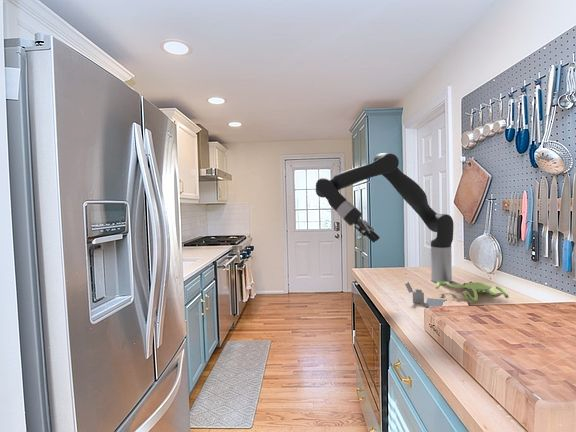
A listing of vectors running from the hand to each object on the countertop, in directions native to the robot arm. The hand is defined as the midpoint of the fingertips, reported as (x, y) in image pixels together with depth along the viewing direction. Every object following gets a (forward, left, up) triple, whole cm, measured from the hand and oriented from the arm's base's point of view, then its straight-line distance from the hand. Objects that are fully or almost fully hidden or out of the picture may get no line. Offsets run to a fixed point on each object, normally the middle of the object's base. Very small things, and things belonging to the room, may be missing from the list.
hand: (376, 240), depth 143 cm
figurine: (-14, +36, -25) cm, 46 cm away
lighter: (+4, +15, -24) cm, 29 cm away
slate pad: (+4, +27, -24) cm, 37 cm away
